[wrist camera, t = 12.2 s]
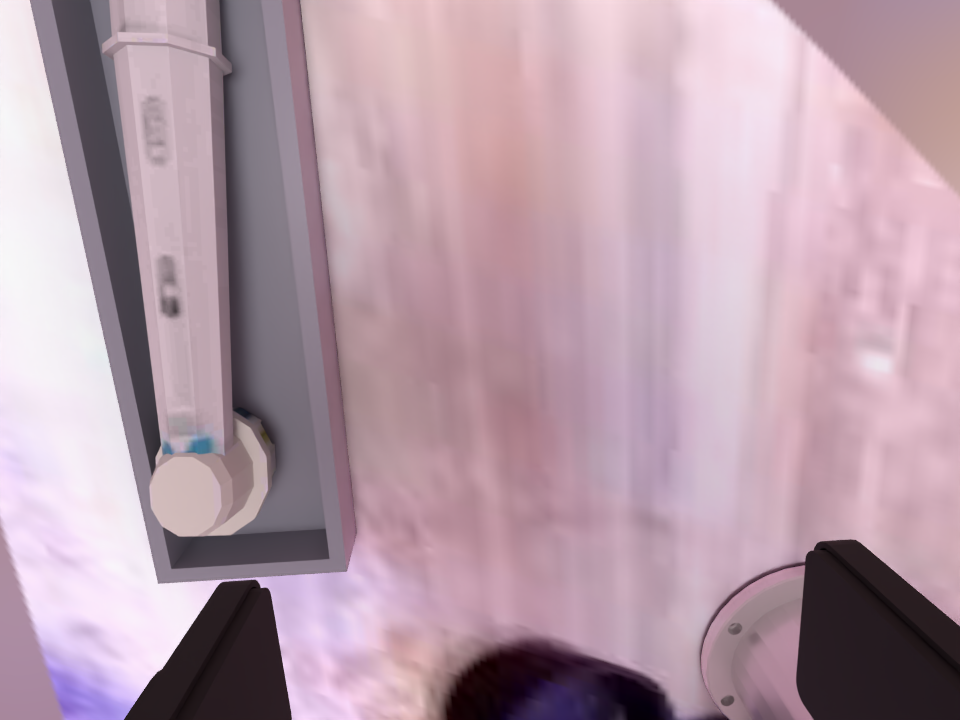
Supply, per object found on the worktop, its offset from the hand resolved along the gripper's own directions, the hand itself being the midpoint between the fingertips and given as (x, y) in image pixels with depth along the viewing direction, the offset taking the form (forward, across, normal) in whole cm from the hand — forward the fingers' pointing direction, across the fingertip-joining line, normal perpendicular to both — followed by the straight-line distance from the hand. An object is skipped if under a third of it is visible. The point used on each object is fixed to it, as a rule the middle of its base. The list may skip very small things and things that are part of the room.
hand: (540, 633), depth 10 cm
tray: (+21, +13, -4) cm, 25 cm away
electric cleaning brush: (+21, +13, -5) cm, 25 cm away
